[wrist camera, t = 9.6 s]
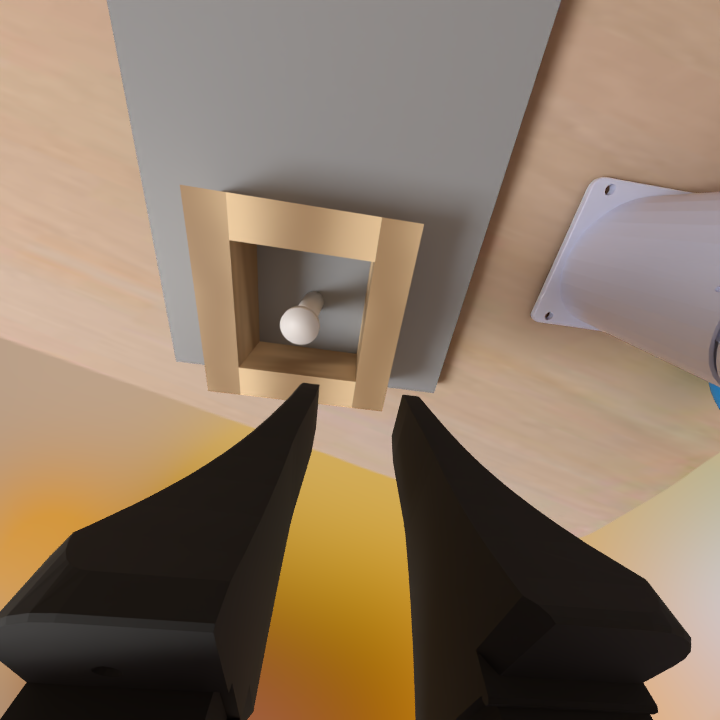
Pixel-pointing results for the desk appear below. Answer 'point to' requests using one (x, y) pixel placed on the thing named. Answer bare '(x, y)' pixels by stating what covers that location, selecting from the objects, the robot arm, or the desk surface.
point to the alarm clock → (715, 393)
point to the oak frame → (241, 306)
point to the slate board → (331, 144)
